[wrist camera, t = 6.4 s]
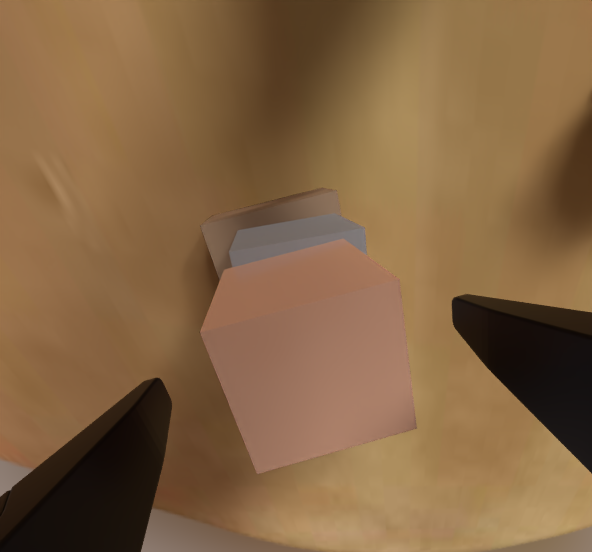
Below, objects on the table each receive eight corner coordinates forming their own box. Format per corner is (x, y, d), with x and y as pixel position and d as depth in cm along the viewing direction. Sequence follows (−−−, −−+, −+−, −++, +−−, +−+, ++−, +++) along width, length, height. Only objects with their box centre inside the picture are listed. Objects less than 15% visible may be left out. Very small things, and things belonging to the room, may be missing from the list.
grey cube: (334, 213, 15) (364, 227, 11) (344, 300, 16) (373, 343, 12) (237, 230, 14) (228, 252, 10) (257, 317, 16) (256, 367, 12)
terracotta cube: (343, 238, 11) (399, 278, 6) (361, 340, 12) (416, 428, 8) (223, 269, 10) (199, 332, 6) (258, 369, 12) (257, 474, 8)
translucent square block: (320, 187, 18) (336, 190, 14) (340, 287, 21) (358, 311, 17) (212, 215, 18) (200, 225, 14) (245, 312, 20) (241, 343, 17)
